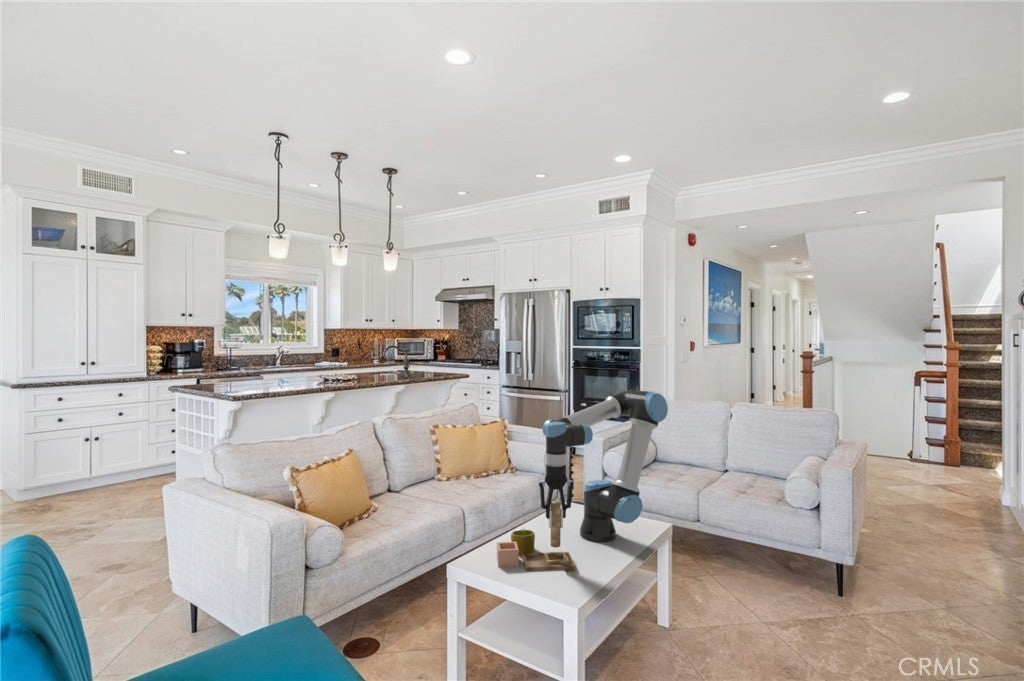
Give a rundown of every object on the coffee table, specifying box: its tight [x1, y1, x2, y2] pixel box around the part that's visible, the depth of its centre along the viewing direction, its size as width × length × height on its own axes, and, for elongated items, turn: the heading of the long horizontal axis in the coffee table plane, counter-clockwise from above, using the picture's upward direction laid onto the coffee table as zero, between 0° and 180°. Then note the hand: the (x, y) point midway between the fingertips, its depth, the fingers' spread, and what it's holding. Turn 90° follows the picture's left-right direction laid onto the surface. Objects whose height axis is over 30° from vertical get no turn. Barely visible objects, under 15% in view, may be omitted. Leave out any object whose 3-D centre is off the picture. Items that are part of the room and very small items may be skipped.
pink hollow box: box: [496, 541, 520, 568], centre depth 201 cm, size 8×8×7 cm
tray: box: [521, 551, 576, 573], centre depth 200 cm, size 18×12×3 cm, turn 96°
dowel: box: [550, 500, 562, 548], centre depth 200 cm, size 4×4×16 cm
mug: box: [510, 528, 536, 556], centre depth 213 cm, size 12×10×10 cm
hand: (555, 526), depth 200 cm, fingers closed on dowel, 3 cm apart
